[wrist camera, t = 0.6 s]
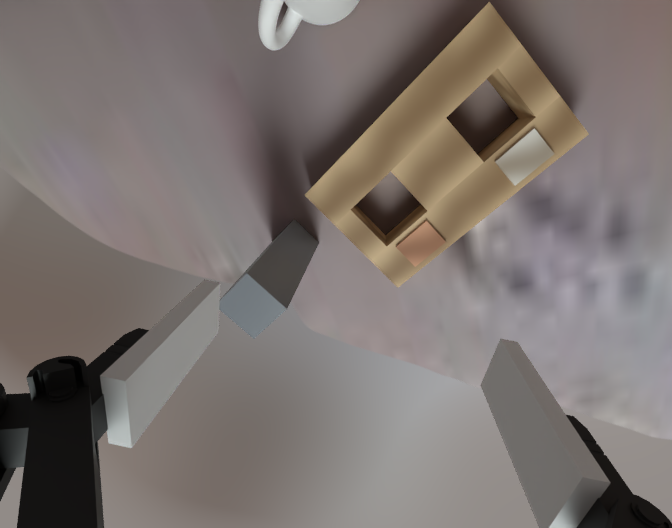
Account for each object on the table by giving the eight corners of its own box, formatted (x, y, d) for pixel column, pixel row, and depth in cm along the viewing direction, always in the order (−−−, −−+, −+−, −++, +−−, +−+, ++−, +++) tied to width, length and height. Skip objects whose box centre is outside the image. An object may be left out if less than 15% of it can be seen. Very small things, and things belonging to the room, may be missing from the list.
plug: (272, 241, 41) (214, 305, 26) (294, 218, 40) (246, 273, 25) (296, 264, 42) (253, 338, 27) (318, 242, 41) (286, 309, 26)
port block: (311, 188, 38) (303, 195, 34) (475, 16, 31) (490, 0, 27) (395, 273, 41) (398, 288, 37) (565, 133, 34) (590, 134, 30)
